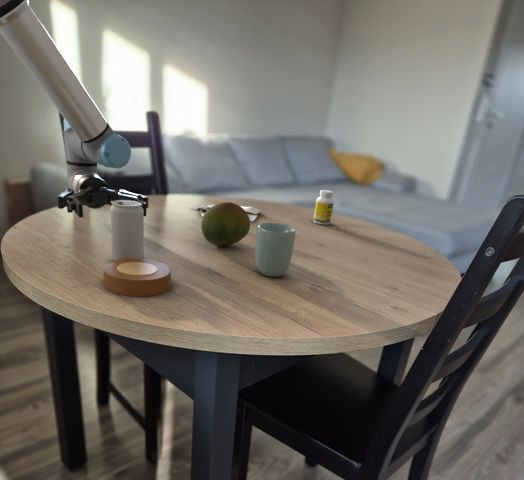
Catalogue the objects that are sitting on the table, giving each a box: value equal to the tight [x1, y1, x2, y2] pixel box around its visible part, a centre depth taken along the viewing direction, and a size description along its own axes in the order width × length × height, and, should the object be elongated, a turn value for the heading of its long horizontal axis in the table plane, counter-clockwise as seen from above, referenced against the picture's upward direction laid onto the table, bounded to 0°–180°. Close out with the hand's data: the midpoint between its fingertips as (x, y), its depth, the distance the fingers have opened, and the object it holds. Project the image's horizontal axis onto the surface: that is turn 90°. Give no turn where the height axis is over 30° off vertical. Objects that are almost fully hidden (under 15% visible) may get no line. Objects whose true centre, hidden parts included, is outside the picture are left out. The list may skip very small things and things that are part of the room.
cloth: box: [193, 203, 261, 222], centre depth 149 cm, size 20×22×2 cm
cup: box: [254, 222, 296, 278], centre depth 101 cm, size 8×8×10 cm
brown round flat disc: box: [102, 258, 172, 297], centre depth 89 cm, size 12×12×3 cm
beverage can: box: [109, 200, 145, 261], centre depth 98 cm, size 6×6×12 cm
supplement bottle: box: [312, 189, 335, 226], centre depth 150 cm, size 5×5×10 cm
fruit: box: [200, 201, 251, 247], centre depth 116 cm, size 12×12×10 cm
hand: (113, 210), depth 104 cm, fingers open, 13 cm apart
